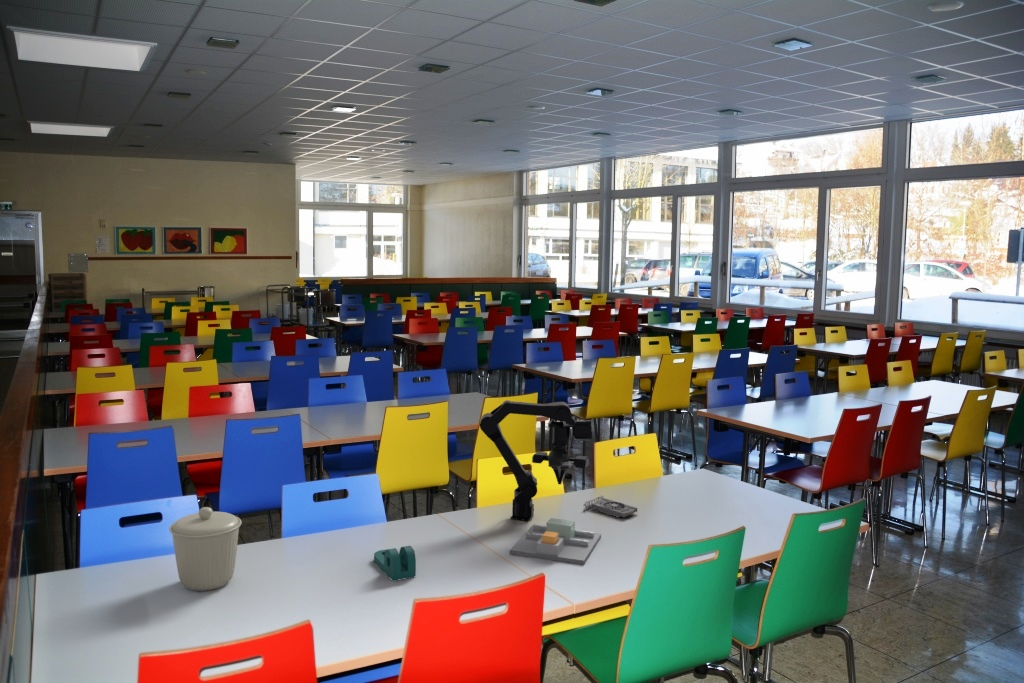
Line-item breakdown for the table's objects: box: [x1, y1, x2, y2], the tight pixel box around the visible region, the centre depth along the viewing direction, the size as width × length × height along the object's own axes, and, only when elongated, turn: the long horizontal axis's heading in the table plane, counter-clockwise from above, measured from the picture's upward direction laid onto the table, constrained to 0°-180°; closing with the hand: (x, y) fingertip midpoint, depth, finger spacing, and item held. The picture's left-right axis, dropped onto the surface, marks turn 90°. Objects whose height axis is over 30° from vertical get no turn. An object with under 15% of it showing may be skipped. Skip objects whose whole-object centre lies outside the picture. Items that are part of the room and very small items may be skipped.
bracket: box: [373, 545, 417, 581], centre depth 228 cm, size 18×7×8 cm, turn 29°
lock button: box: [542, 531, 559, 545], centre depth 241 cm, size 4×4×5 cm
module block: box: [545, 517, 576, 538], centre depth 252 cm, size 8×5×5 cm, turn 71°
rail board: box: [509, 523, 602, 565], centre depth 248 cm, size 23×24×4 cm
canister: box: [168, 506, 242, 592], centre depth 214 cm, size 18×18×21 cm
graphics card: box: [582, 495, 638, 518], centre depth 281 cm, size 17×4×12 cm
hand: (559, 484), depth 273 cm, fingers closed
